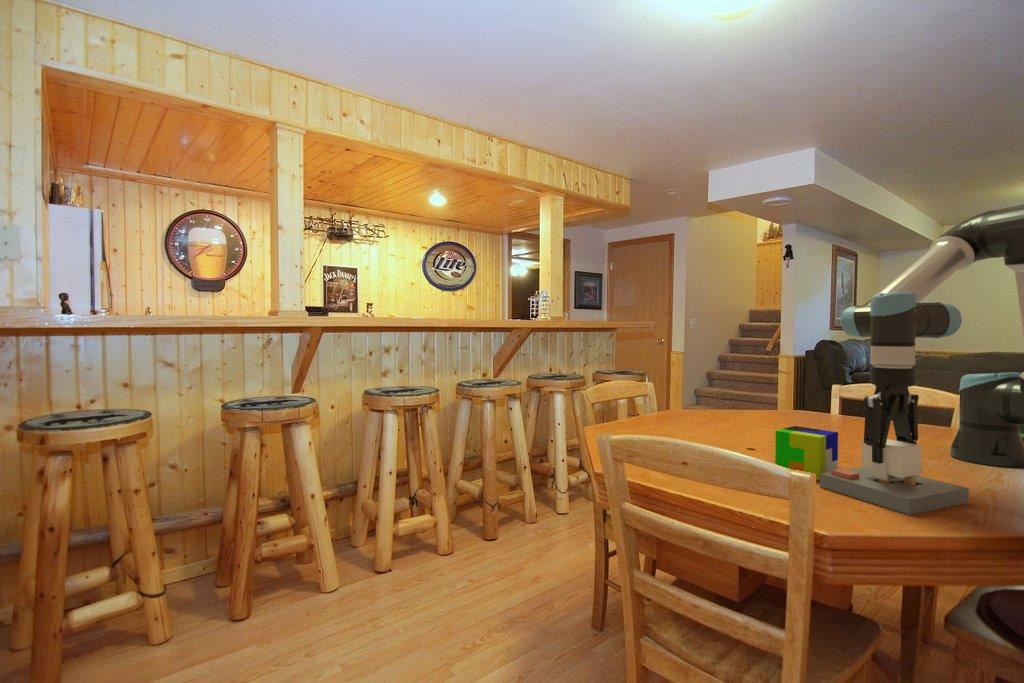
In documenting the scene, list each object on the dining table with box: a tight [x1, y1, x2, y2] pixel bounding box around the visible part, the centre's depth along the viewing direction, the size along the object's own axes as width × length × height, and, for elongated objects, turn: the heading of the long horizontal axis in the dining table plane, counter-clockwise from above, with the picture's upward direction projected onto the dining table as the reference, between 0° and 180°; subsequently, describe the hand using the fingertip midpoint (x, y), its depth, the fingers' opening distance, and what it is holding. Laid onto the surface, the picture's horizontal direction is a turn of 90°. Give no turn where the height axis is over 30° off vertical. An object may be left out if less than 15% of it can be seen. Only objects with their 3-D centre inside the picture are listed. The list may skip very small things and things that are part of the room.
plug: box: [861, 438, 923, 486], centre depth 105 cm, size 6×8×9 cm
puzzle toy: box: [774, 425, 839, 481], centre depth 122 cm, size 10×10×10 cm
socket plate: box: [819, 466, 970, 516], centre depth 105 cm, size 18×18×4 cm
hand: (890, 476), depth 105 cm, fingers closed on plug, 6 cm apart
